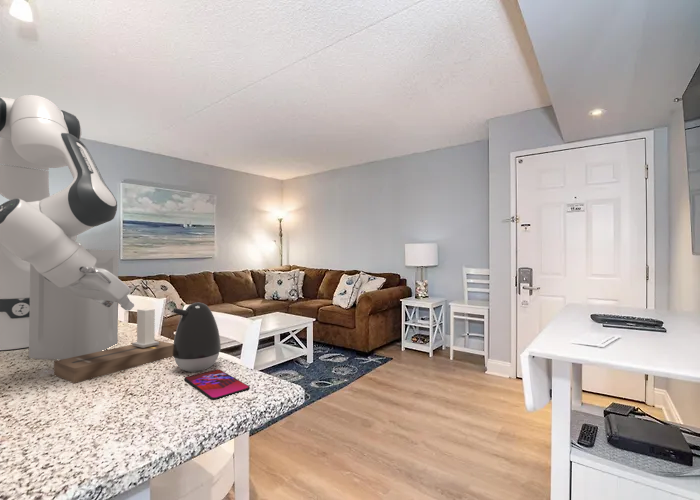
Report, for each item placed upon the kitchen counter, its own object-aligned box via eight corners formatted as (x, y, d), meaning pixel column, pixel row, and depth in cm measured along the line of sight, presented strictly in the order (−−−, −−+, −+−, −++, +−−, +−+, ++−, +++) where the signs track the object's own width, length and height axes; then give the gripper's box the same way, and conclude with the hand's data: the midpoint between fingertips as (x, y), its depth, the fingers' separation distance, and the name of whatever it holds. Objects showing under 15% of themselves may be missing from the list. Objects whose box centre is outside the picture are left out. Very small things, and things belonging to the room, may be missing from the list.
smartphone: (212, 399, 60) (182, 377, 71) (212, 404, 60) (182, 381, 71) (251, 387, 66) (218, 368, 76) (251, 391, 66) (218, 372, 76)
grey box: (29, 367, 79) (31, 248, 80) (28, 354, 90) (30, 250, 91) (125, 351, 93) (126, 249, 93) (115, 342, 103) (115, 250, 104)
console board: (74, 383, 69) (74, 368, 69) (53, 374, 74) (54, 361, 74) (176, 355, 88) (176, 344, 88) (154, 350, 93) (154, 339, 93)
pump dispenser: (164, 368, 78) (164, 302, 78) (208, 358, 86) (209, 298, 86) (181, 379, 71) (182, 307, 71) (228, 367, 79) (228, 302, 79)
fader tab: (143, 347, 84) (143, 311, 84) (132, 345, 86) (132, 309, 86) (159, 344, 87) (159, 309, 87) (148, 341, 90) (148, 307, 90)
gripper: (107, 257, 70) (154, 299, 78) (64, 256, 80) (109, 293, 89) (81, 280, 66) (133, 321, 75) (39, 276, 76) (89, 313, 85)
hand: (120, 306), depth 82 cm, fingers open, 8 cm apart
